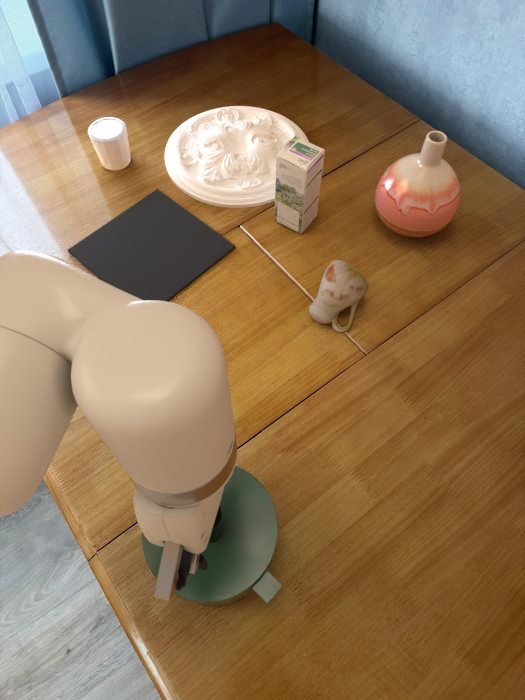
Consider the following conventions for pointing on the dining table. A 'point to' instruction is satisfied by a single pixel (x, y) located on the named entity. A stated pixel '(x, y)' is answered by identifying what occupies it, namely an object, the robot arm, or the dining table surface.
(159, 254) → the mat
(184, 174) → the ceiling medallion
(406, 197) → the vase
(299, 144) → the syrup box
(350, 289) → the mug
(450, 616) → the dining table surface
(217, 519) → the lid
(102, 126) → the white lidded cup
